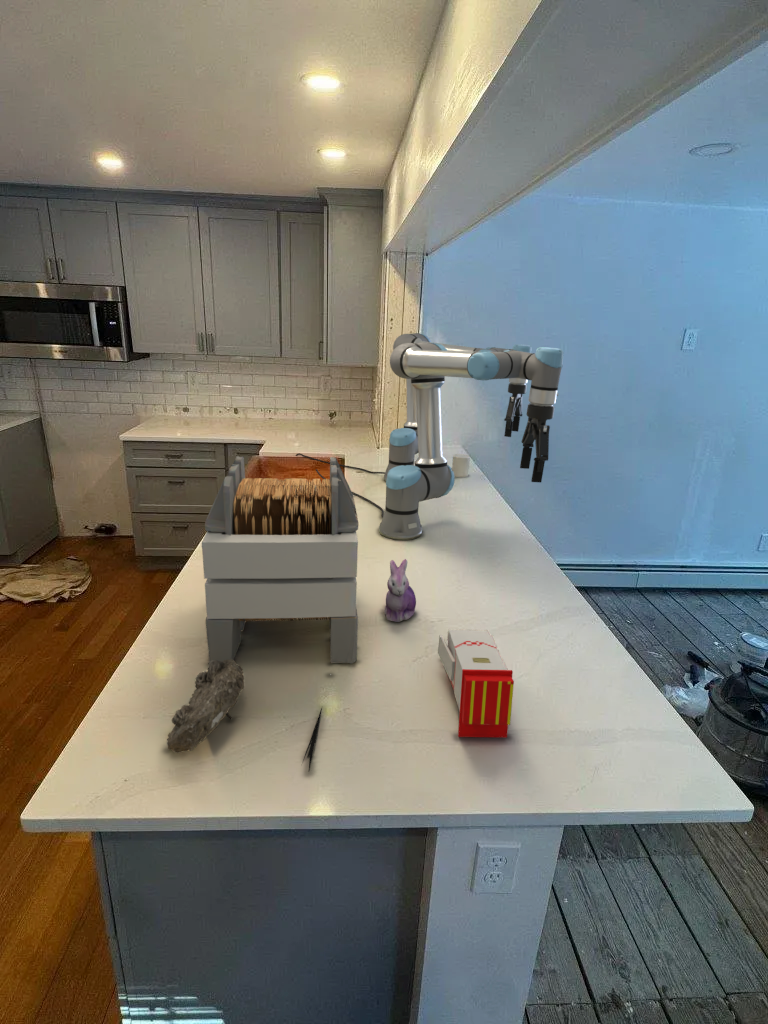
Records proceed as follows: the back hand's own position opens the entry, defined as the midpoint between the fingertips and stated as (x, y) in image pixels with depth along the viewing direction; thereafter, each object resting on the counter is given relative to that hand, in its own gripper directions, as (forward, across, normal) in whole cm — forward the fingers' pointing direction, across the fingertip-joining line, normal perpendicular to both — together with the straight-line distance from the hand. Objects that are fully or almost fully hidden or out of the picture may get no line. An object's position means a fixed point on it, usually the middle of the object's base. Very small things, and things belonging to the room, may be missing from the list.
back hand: (511, 433), depth 243 cm
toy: (+26, -143, -28) cm, 148 cm away
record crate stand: (+26, -140, +20) cm, 144 cm away
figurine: (+26, -121, -2) cm, 124 cm away
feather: (+26, -165, -5) cm, 167 cm away
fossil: (+26, -174, +14) cm, 176 cm away
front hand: (-4, -74, -22) cm, 78 cm away
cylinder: (+26, +15, +25) cm, 40 cm away
